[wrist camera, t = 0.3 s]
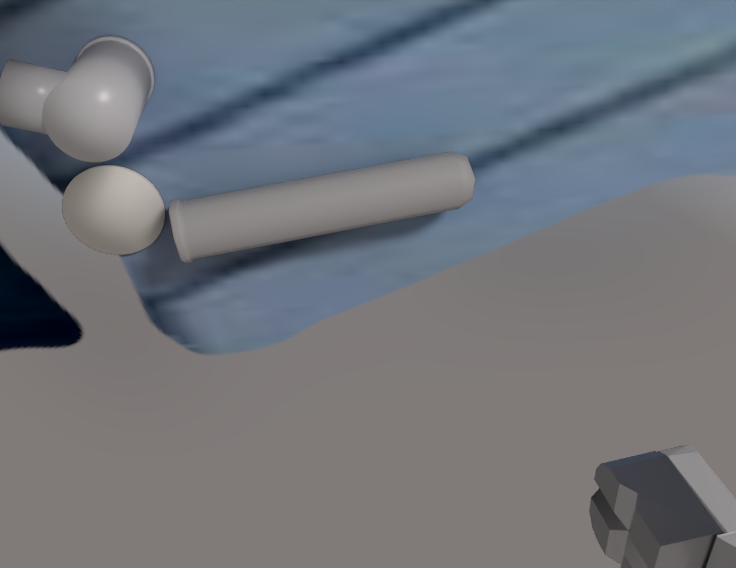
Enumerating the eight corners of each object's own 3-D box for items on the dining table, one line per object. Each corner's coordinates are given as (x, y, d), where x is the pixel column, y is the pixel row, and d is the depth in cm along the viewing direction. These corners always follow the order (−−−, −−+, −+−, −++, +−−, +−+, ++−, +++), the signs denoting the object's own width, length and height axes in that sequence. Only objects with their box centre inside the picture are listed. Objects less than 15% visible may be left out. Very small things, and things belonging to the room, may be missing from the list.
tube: (479, 146, 54) (164, 204, 53) (487, 211, 56) (181, 270, 54) (462, 143, 60) (175, 196, 58) (470, 204, 61) (190, 257, 59)
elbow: (159, 46, 50) (140, 89, 41) (149, 117, 53) (130, 172, 44) (45, 17, 48) (-2, 56, 39) (40, 93, 51) (-4, 146, 42)
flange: (51, 169, 54) (50, 170, 54) (155, 160, 55) (154, 162, 55) (76, 257, 58) (76, 259, 58) (172, 248, 59) (172, 249, 59)
